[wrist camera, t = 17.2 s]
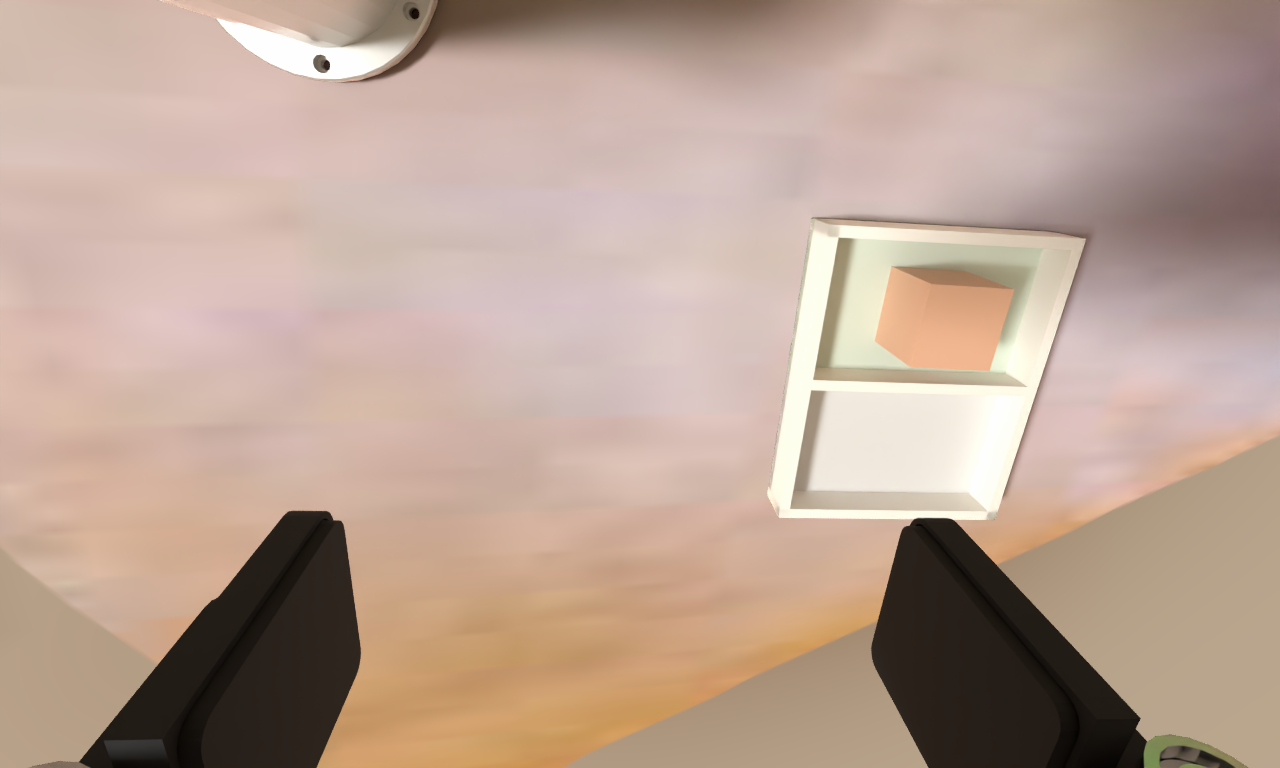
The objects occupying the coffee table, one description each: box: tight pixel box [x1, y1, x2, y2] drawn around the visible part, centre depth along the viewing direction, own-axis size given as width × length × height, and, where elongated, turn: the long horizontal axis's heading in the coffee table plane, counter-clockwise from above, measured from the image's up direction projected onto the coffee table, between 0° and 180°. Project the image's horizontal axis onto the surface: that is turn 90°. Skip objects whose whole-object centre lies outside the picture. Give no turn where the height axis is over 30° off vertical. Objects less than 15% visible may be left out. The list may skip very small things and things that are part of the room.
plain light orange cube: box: [875, 266, 1014, 371], centre depth 38 cm, size 5×5×5 cm
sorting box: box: [767, 218, 1086, 520], centre depth 42 cm, size 20×16×3 cm
